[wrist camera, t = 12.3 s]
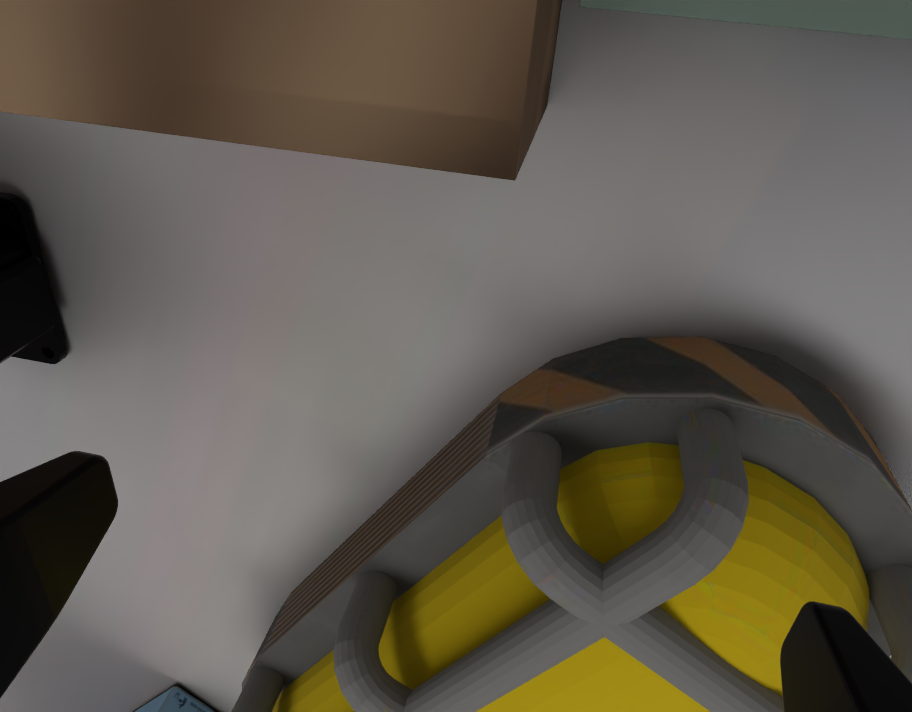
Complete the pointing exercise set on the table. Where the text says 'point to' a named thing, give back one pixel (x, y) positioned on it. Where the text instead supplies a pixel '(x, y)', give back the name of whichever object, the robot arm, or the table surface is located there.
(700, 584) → the cage light
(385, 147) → the brown open lidded box
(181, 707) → the gum box
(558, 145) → the table surface
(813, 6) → the tray
